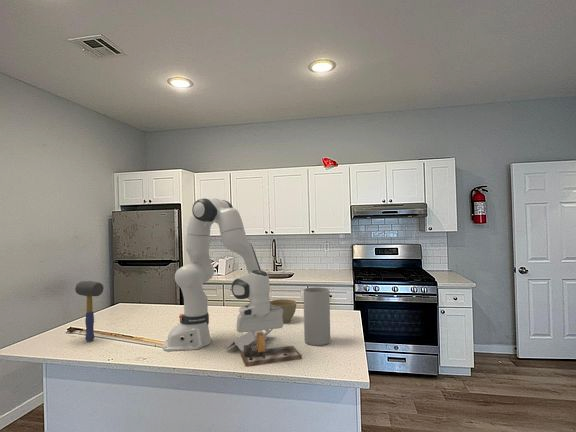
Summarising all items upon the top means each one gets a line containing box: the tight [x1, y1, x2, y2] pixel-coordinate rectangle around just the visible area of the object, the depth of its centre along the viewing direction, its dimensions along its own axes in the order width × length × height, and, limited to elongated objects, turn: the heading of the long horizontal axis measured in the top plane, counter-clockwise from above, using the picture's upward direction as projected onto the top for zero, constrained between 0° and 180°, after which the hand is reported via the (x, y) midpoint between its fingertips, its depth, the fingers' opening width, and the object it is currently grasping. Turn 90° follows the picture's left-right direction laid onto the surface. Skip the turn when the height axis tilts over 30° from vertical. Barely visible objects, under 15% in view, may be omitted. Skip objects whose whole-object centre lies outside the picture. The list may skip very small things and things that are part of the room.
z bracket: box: [224, 329, 274, 352], centre depth 164 cm, size 12×25×6 cm
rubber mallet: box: [74, 280, 104, 343], centre depth 173 cm, size 12×8×30 cm, turn 69°
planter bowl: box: [270, 298, 297, 324], centre depth 202 cm, size 16×16×11 cm
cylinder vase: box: [303, 286, 331, 347], centre depth 166 cm, size 12×12×25 cm
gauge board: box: [240, 345, 303, 367], centre depth 148 cm, size 24×12×5 cm, turn 107°
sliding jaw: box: [255, 332, 266, 358], centre depth 147 cm, size 3×9×8 cm, turn 17°
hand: (260, 340), depth 149 cm, fingers open, 3 cm apart
